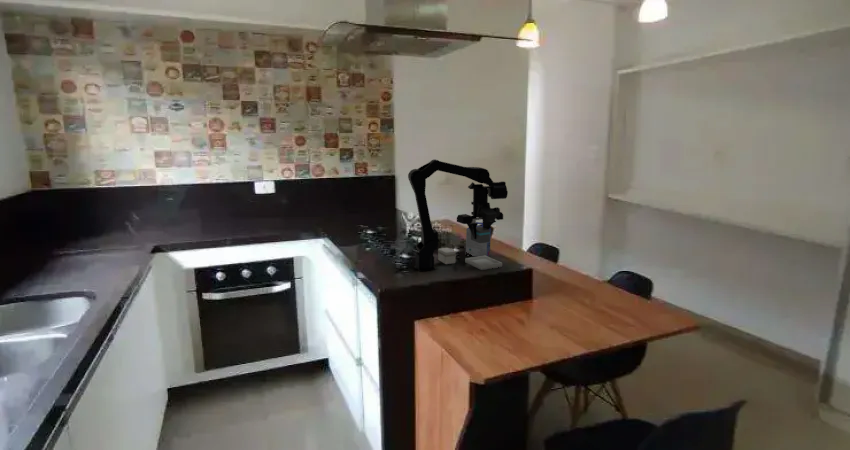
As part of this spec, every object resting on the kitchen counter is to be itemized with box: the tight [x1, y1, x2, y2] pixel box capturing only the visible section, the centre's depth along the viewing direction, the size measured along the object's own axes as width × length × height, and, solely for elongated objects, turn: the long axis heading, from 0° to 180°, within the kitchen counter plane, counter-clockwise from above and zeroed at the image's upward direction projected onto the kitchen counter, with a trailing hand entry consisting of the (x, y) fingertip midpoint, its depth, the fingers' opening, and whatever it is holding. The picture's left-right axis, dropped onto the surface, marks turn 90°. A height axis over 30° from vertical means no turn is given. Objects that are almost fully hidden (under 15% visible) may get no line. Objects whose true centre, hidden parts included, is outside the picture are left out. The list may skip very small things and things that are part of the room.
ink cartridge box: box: [465, 221, 492, 257], centre depth 202 cm, size 10×6×14 cm, turn 66°
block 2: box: [471, 225, 491, 243], centre depth 185 cm, size 5×7×5 cm, turn 26°
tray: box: [464, 256, 503, 271], centre depth 189 cm, size 10×12×2 cm
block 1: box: [437, 247, 457, 265], centre depth 194 cm, size 5×7×5 cm, turn 25°
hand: (480, 238), depth 185 cm, fingers closed on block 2, 4 cm apart
